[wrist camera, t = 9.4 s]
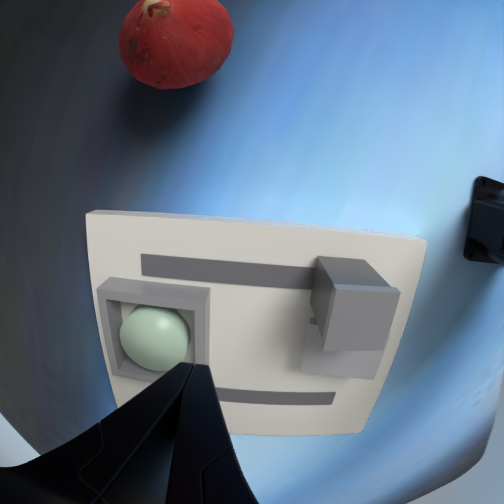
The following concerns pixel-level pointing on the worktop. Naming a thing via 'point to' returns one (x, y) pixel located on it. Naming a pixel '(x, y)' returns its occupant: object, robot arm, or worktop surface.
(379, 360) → the rocker grey
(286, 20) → the worktop surface
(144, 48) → the onion
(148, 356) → the button green
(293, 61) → the worktop surface
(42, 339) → the worktop surface
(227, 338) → the panel
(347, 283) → the slider grey
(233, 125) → the worktop surface
